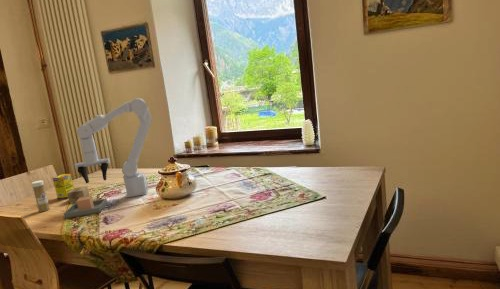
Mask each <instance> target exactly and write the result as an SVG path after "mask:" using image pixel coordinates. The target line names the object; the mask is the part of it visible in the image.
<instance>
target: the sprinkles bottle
mask: <svg viewBox="0 0 500 289" xmlns="http://www.w3.org/2000/svg"><path fill="white" fill-rule="evenodd" d="M44 184H45V183H44V180H35V181H33V182H31V187H32V190H33V192H34V193H33V194H34V195H33V196H34V198H35V202H36V205H37V208H38V213H39V212H40V213H43V212H47V211H49V210H50V209H51V207H50V205H49V201H48V197H47V192H46V189H45V185H44Z"/></svg>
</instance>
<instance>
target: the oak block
mask: <svg viewBox="0 0 500 289" xmlns="http://www.w3.org/2000/svg"><path fill="white" fill-rule="evenodd" d="M67 195H68V199H67V200H68V203H70V202H72V203H76V202H75V201H77V200H78V199H79V198H80V197H85V196H90V193H89V188H88V186H87V185H86V186H81V187H74V188H73V189H71V190H70V191H69V192H68V193H67ZM70 204H71V203H70Z"/></svg>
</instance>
